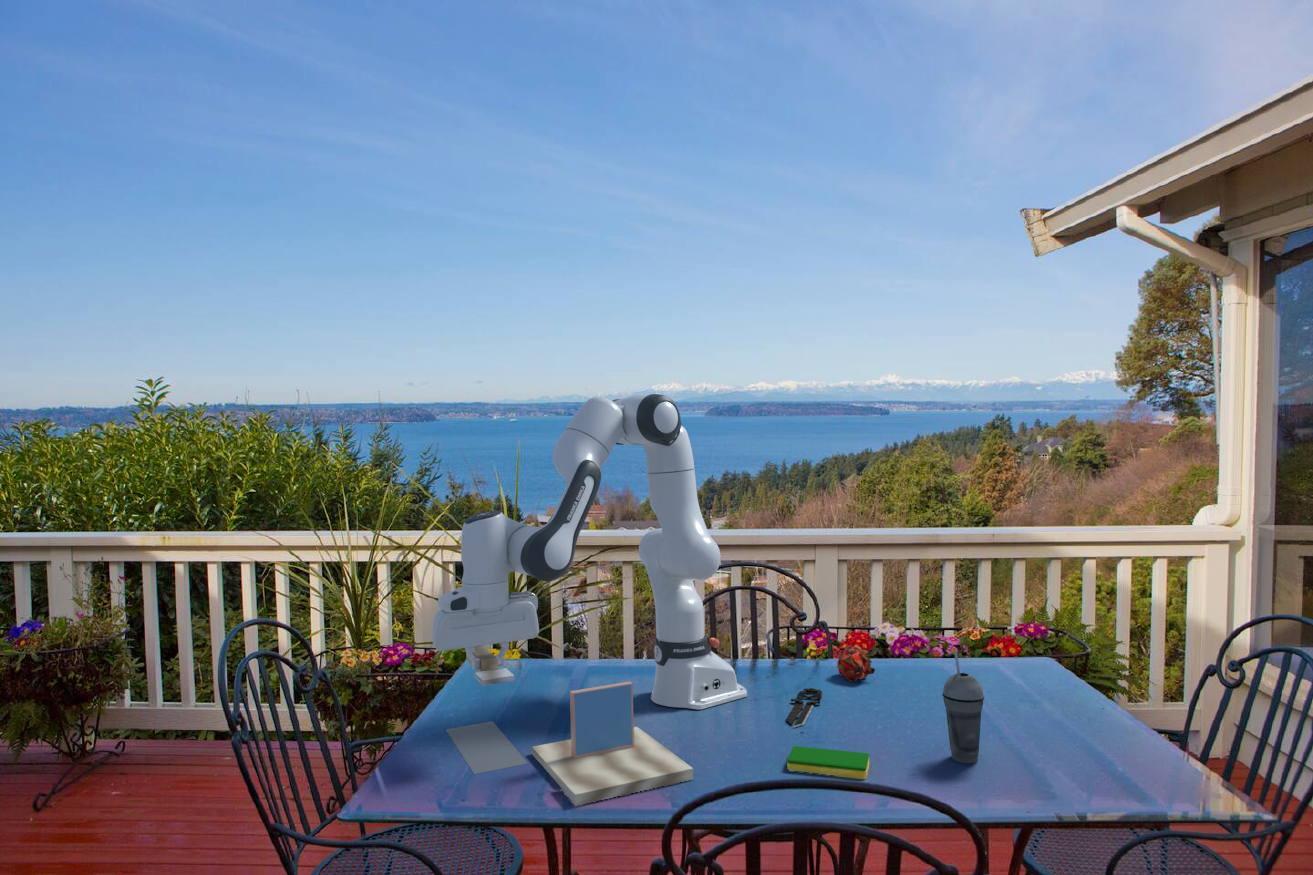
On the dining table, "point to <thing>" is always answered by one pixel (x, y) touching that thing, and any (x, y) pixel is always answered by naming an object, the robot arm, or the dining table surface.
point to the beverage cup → (963, 714)
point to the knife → (806, 709)
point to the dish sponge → (829, 762)
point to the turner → (489, 668)
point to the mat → (485, 747)
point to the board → (612, 769)
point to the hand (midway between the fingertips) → (487, 666)
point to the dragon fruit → (854, 663)
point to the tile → (601, 719)
